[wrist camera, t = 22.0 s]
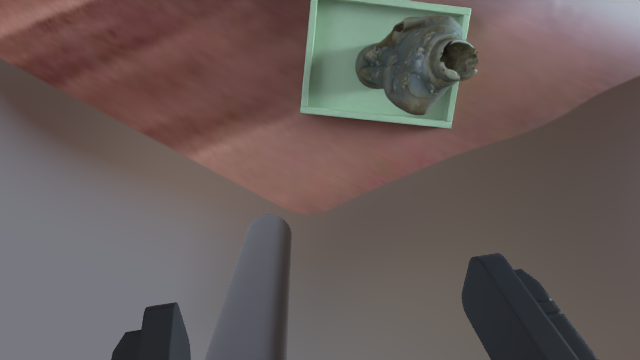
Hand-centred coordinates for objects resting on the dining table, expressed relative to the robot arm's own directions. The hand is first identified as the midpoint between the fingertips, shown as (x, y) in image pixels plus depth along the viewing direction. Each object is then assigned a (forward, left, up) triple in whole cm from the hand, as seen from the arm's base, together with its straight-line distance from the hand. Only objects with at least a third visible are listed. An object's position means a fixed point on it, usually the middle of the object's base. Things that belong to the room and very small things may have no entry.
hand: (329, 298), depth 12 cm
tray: (+8, -6, -32) cm, 34 cm away
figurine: (+7, -6, -32) cm, 33 cm away
